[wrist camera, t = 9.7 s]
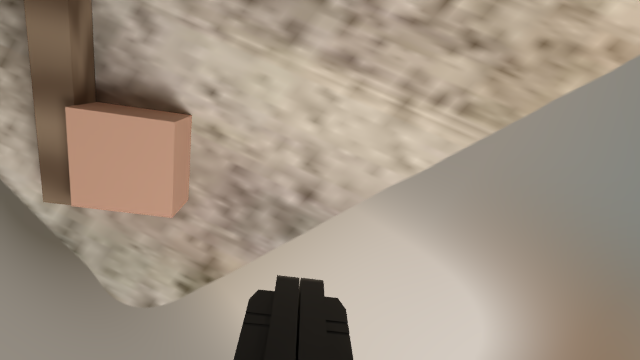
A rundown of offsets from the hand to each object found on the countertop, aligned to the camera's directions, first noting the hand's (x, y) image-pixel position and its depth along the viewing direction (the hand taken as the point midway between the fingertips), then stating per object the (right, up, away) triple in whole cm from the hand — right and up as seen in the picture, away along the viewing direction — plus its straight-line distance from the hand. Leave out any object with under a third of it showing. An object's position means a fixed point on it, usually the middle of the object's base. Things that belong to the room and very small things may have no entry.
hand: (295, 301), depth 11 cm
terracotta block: (-15, +6, +21) cm, 26 cm away
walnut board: (-20, +12, +18) cm, 30 cm away
